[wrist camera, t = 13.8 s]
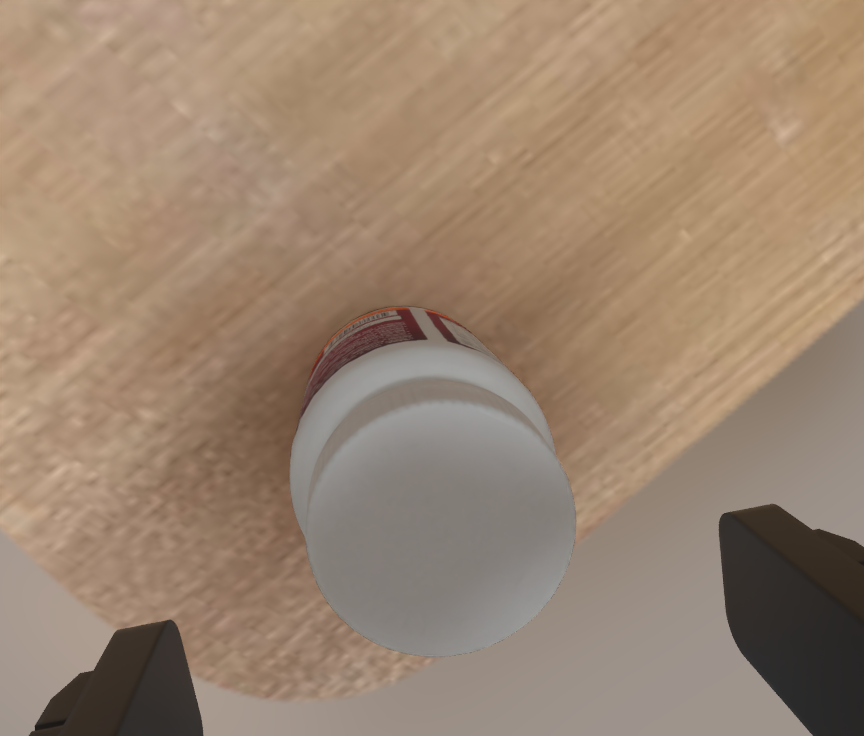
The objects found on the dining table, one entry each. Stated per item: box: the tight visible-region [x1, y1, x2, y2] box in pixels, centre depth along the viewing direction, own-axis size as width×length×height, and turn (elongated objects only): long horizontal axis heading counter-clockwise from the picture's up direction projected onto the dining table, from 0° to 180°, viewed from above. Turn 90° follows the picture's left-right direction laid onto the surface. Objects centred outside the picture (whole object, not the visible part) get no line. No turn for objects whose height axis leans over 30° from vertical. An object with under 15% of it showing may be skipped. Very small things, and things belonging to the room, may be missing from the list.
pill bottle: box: [290, 306, 576, 657], centre depth 20 cm, size 6×6×11 cm
